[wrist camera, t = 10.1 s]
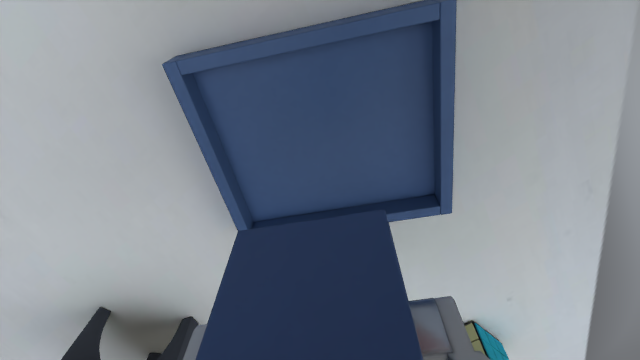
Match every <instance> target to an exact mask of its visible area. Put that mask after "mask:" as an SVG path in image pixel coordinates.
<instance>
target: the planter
mask: <svg viewBox="0 0 640 360" xmlns="http://www.w3.org/2000/svg"><path fill="white" fill-rule="evenodd" d="M110 312H111V311H108V310H106V309H103V308H101V307H100V308H99V309H98V310H97V312H96V313H95V314H94V316H93V317H92V318H91V320H90V321H89V322H88V324H87V325H86V327H85V328H84V329H83V331H82V332H81V333H80V335H79V336H78V337H77V339H76V340H75V341H74V343H73V344H72V346H71V347H70V348H69V350H68V351H67V352H66V354H65V355H64V356H63V358H62V359H61V360H101V359H100V352H99V345H100V339H101V334H102V331H103V328H104V325H105V323H106V321H107V319H108V317H109V315H110ZM197 325H198V323H197V322H196V321H195V320H194V319H193V318H192V317H190V318H185V319H183V320H182V322H181V324H180V326H179V328H178V330H177V332H176V333H175V335H174V337H173V339H172V340H171V342H170V343H169V345H168V346H167V348H166V349H165V350H164V352H163V353H162V354H156V353H150V354H149V356H148V358H147V360H183V358H184V355H185V352H186V350H187V347H188V344H189V341H190V339H191V336H192V333H193V331H194V329H195V328H196V327H197Z"/></svg>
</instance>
